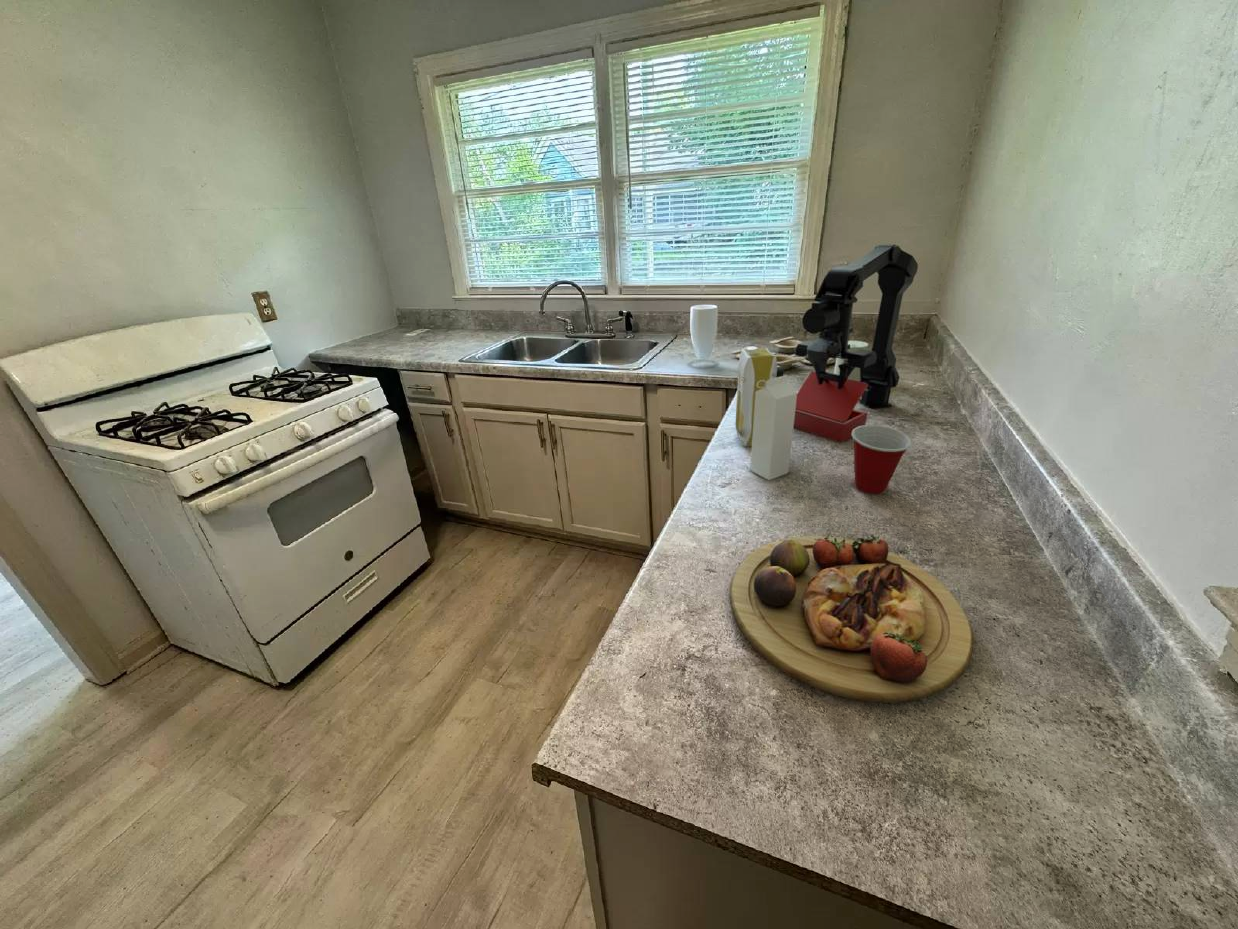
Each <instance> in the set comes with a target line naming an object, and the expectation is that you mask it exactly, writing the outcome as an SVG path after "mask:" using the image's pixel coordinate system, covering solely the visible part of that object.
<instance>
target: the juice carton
mask: <svg viewBox="0 0 1238 929" xmlns="http://www.w3.org/2000/svg"><path fill="white" fill-rule="evenodd" d="M744 349H745V348H744ZM740 350H741V355H740V359H739V358H738V359H739V360H738V366H737V368H738V369H737V371H738V372H737V386H736V388H737V389H736V406H735V430H736V435H737V437H738V438H739V440H740V442H741V444H742V446H743V447H752V437H753V422H754V408H755V393H756V391H758V390H761V389H763V388H766V382H767V380H770V379H773V378H776V376H777V359H776V356H775V355H773V354H772V353H773V352H771V351H770V350H769V348H766V347H764V348H761V347H759V348H758V347H757V346H751V347H749V348H747V349H745V350H742V349H740Z"/></svg>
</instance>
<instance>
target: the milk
mask: <svg viewBox="0 0 1238 929" xmlns="http://www.w3.org/2000/svg"><path fill="white" fill-rule="evenodd" d="M788 379H789V375H788V374H784V376H781V377H777V378H773V379H770V380H767V382H766V388H763V389H761V390H758V391H756V393H755V408H754V422H753V437H752V446H751V453H750V465H749V467H750V468H749V470H750V471H751V472H753V473H755V474H756V475H758V476H760V477H762V478H764V479H766V480H767V481H772V480H774V479H777V478H780V477H781V476H784V475H788V474H789V472H790V462H791V453H792V445H793V444H792V443H793V434H794V428H795V427H794V418H795V409H796V400H797V393H798V392H797V391H796V389H794V387H793V386H792V385H791V384H790V383H789V380H788Z"/></svg>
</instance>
